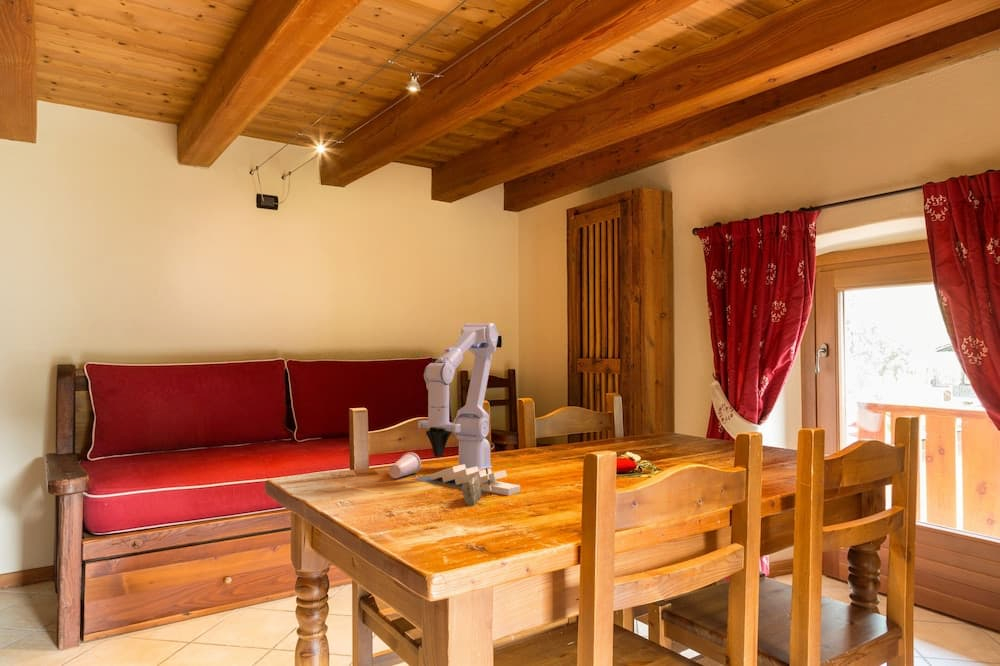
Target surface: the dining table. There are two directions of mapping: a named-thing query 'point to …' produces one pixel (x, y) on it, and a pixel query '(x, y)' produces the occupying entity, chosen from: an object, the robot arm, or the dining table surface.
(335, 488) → the dining table surface
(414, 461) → the smoothie
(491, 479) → the domino
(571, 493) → the dining table surface
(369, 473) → the dining table surface
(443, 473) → the domino
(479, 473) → the domino
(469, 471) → the domino
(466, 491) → the cuneiform tablet
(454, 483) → the runner mat
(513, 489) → the domino
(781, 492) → the dining table surface
